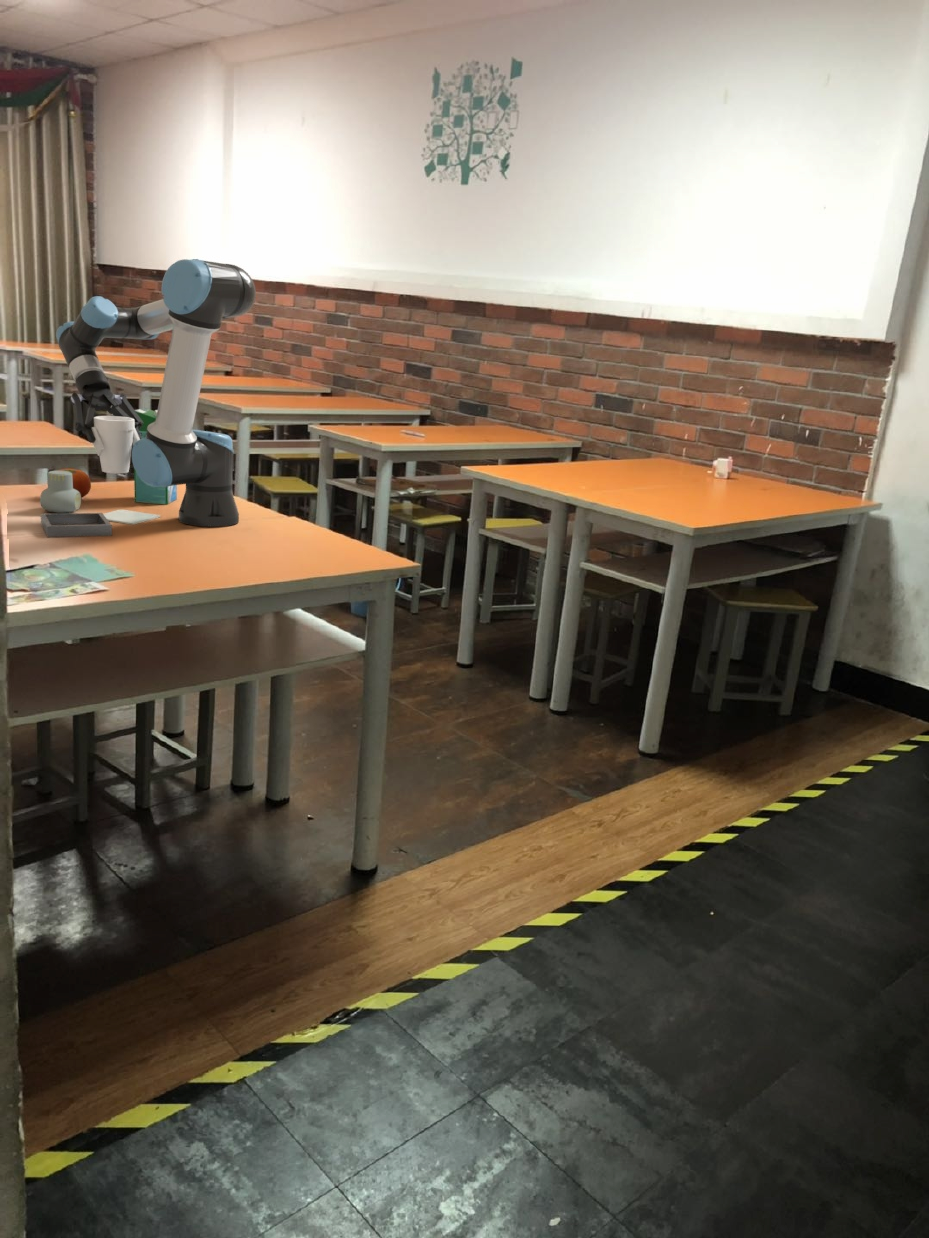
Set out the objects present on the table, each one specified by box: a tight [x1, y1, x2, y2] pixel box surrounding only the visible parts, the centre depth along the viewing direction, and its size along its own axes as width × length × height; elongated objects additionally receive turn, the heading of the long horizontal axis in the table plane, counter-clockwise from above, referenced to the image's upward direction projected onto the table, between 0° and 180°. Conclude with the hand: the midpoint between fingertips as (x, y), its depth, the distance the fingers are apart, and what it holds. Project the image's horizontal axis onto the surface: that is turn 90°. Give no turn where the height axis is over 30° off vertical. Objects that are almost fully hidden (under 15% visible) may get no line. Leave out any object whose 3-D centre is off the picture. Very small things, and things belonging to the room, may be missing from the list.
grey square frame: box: [40, 512, 113, 538], centre depth 228 cm, size 14×14×2 cm
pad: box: [103, 509, 162, 526], centre depth 245 cm, size 12×12×1 cm
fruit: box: [57, 468, 92, 499], centre depth 260 cm, size 11×10×8 cm
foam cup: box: [93, 415, 135, 474], centre depth 237 cm, size 10×9×13 cm
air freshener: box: [39, 470, 82, 514], centre depth 245 cm, size 11×8×10 cm
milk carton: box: [133, 407, 178, 505], centre depth 265 cm, size 9×9×25 cm
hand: (121, 451), depth 235 cm, fingers closed on foam cup, 9 cm apart
